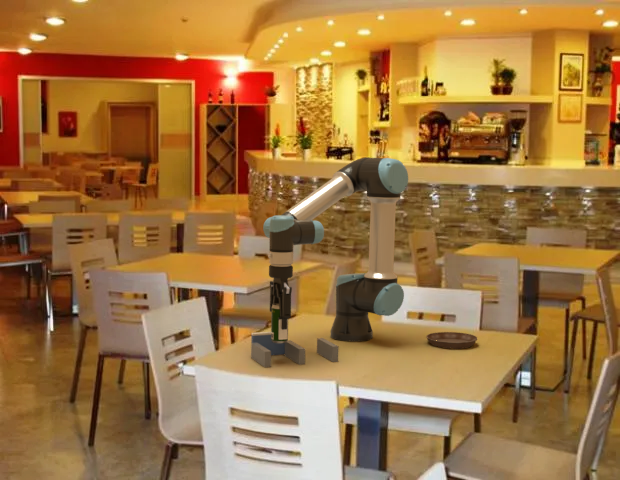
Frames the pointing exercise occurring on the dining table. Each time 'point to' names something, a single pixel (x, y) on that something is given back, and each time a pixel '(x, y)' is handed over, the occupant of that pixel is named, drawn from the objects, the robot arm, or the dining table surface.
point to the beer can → (276, 324)
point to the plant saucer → (451, 340)
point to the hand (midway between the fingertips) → (279, 337)
